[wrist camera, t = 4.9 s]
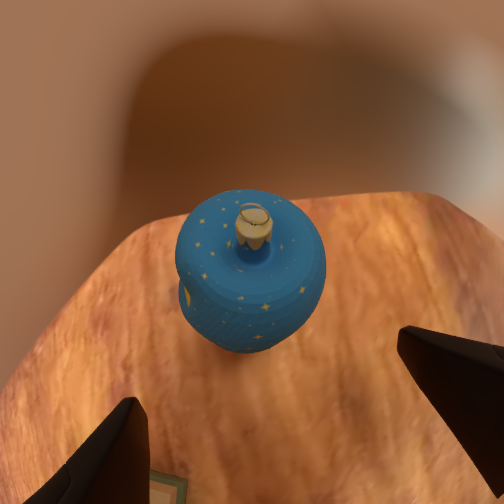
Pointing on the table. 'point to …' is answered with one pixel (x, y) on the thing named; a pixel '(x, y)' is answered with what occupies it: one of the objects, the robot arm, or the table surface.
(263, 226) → the ornament
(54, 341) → the table surface
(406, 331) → the robot arm
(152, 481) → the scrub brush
